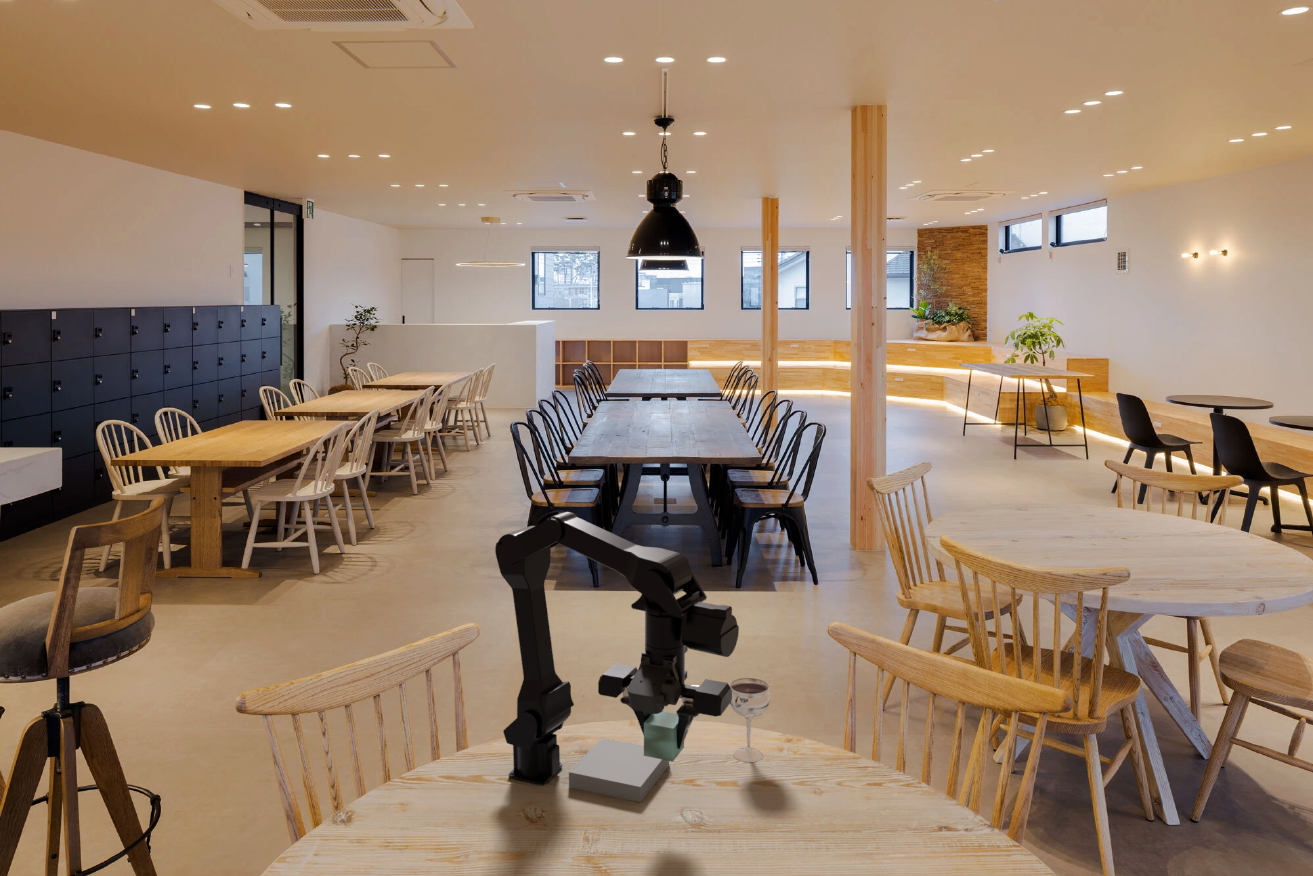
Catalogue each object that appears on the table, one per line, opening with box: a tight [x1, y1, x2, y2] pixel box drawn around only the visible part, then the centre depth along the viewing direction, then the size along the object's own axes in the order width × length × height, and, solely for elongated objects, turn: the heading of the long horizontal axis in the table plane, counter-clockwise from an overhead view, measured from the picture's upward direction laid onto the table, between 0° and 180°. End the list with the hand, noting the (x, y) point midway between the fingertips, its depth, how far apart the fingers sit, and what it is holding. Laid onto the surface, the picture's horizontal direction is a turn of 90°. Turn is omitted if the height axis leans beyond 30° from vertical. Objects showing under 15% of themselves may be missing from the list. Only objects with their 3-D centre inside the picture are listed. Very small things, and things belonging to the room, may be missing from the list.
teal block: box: [643, 710, 685, 762], centre depth 131 cm, size 4×4×5 cm
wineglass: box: [728, 677, 771, 763], centre depth 149 cm, size 7×7×12 cm
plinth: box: [568, 737, 670, 803], centre depth 143 cm, size 12×12×2 cm
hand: (664, 744), depth 131 cm, fingers closed on teal block, 4 cm apart
